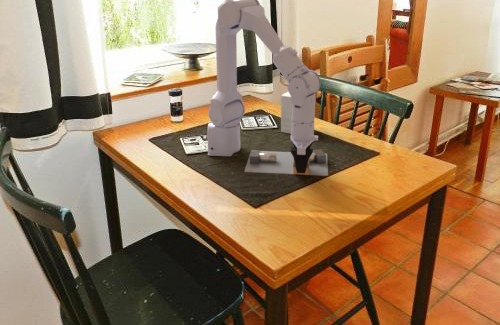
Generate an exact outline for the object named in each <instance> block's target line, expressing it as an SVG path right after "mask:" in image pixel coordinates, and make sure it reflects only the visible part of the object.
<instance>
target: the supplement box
mask: <svg viewBox="0 0 500 325" xmlns="http://www.w3.org/2000/svg"><path fill="white" fill-rule="evenodd" d="M280 99H281V100H280V102H281V103H280V133H285V134H290V135H291V126H292V102H291V95H290V94H289V92H288V91H287V92H284V93H283V94H281V95H280Z"/></svg>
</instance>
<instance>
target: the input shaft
mask: <svg viewBox="0 0 500 325" xmlns="http://www.w3.org/2000/svg"><path fill="white" fill-rule="evenodd" d="M260 151H261V150H260V149H251V150H250V153H249V156H250V164H259V162H277V154H274V153H260Z"/></svg>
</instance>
